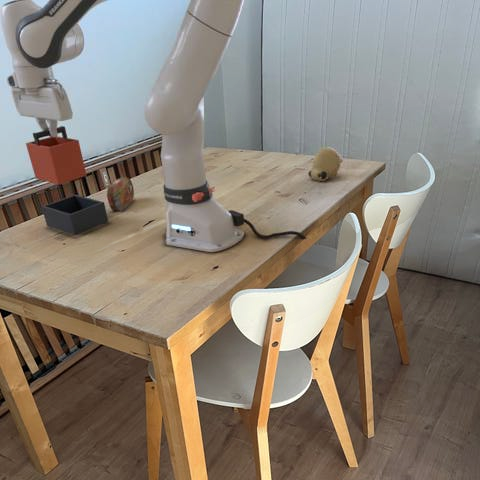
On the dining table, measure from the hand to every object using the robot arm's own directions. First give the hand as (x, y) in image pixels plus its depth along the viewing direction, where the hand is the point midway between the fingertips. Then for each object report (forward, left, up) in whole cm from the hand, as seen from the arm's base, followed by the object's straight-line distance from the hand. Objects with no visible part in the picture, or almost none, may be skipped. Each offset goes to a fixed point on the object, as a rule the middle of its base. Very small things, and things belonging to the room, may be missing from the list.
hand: (50, 136), depth 128 cm
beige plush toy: (-39, -77, -27) cm, 91 cm away
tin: (+4, -21, -27) cm, 35 cm away
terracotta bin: (0, 0, -11) cm, 11 cm away
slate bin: (+3, -3, -27) cm, 27 cm away
